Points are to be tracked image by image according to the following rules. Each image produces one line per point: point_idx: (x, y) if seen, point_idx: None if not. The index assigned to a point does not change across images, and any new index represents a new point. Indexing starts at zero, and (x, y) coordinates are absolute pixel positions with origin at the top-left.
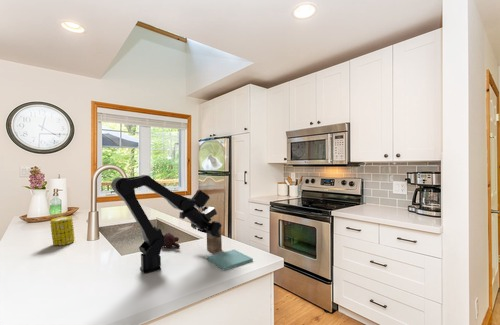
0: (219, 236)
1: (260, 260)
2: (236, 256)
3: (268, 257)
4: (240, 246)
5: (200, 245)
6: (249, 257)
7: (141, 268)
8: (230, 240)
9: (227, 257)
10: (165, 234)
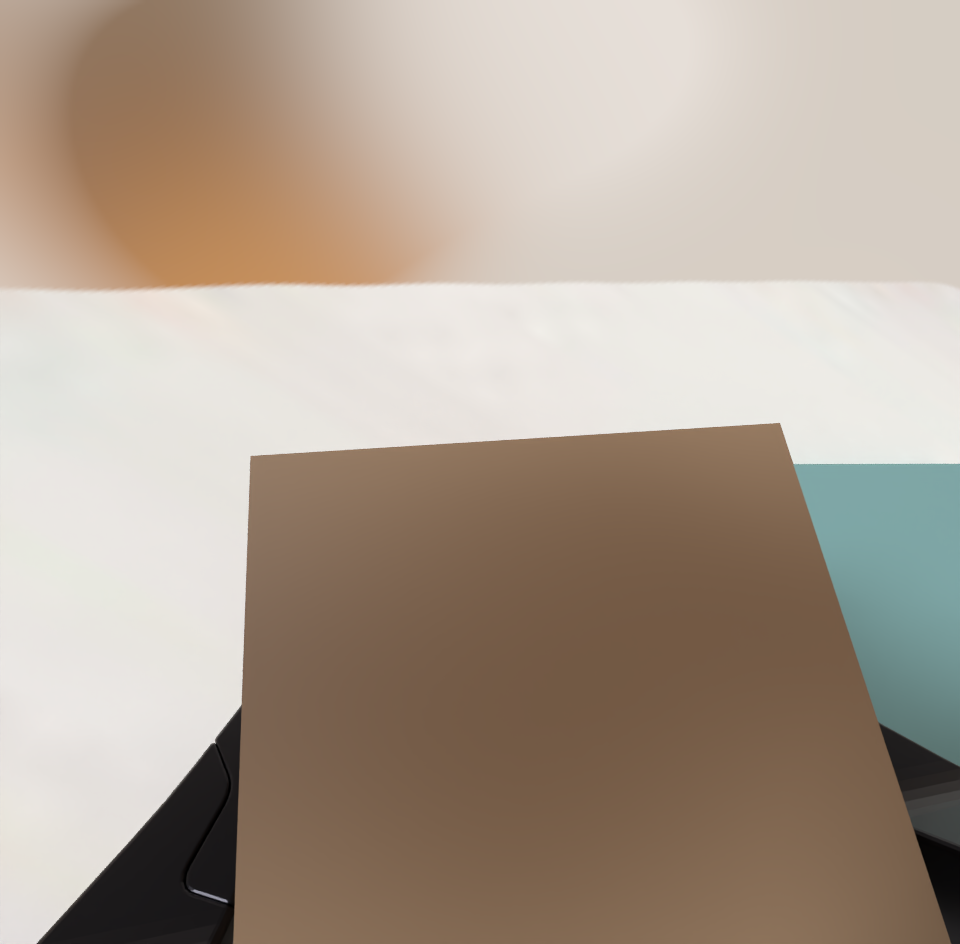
0: None
1: (956, 414)
2: (873, 563)
3: (918, 327)
4: (545, 335)
5: (119, 737)
6: (941, 472)
7: None
8: (283, 299)
9: (864, 667)
10: None
